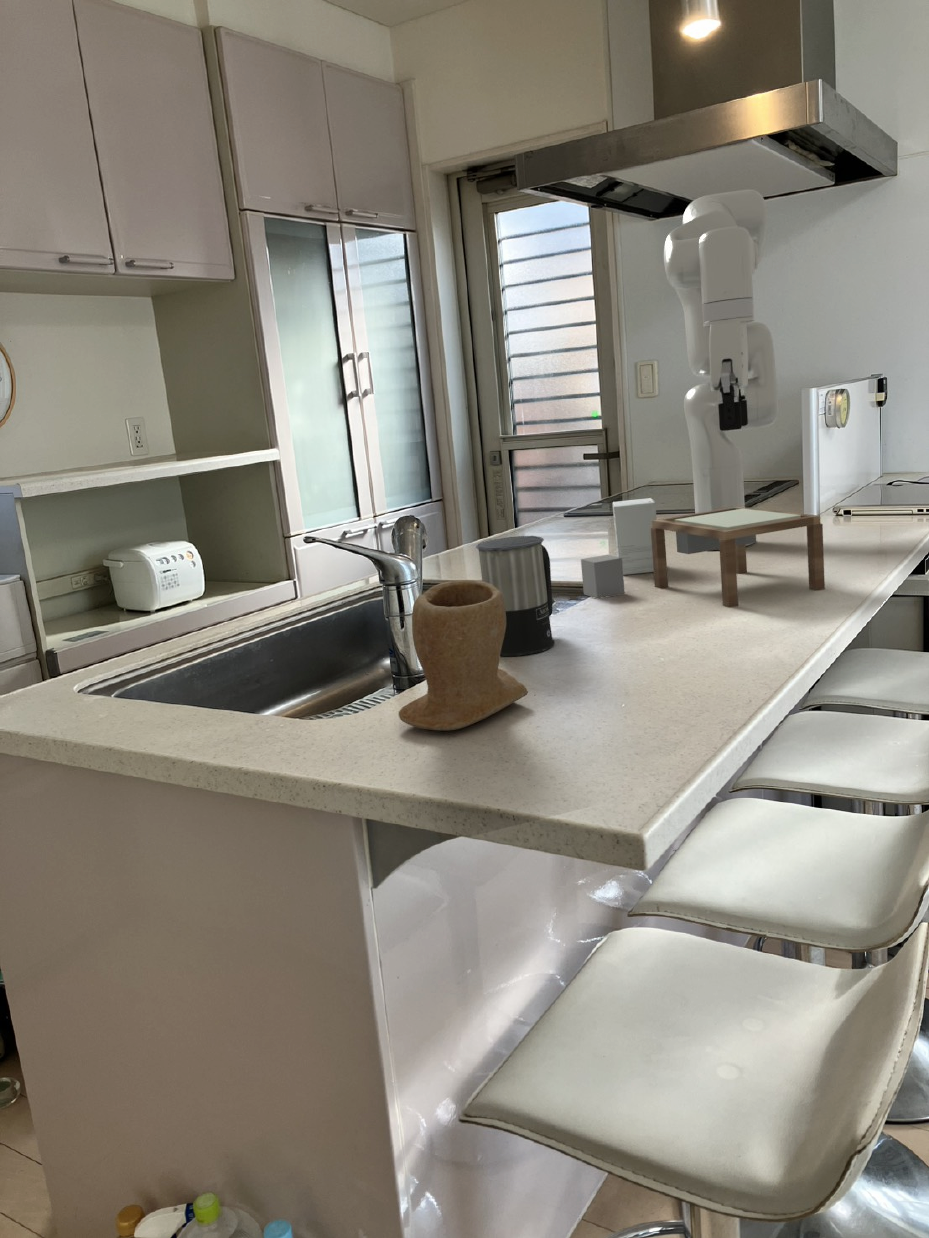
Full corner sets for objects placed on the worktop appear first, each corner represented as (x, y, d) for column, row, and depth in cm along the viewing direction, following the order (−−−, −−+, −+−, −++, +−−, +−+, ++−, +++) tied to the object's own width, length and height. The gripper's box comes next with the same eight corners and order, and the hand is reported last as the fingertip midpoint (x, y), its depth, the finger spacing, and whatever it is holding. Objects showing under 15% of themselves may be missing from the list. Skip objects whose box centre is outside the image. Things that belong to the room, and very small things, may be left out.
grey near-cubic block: (583, 594, 169) (580, 559, 168) (610, 589, 171) (607, 554, 169) (597, 598, 164) (594, 562, 163) (624, 593, 166) (621, 557, 165)
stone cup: (466, 746, 102) (449, 601, 98) (385, 730, 110) (367, 595, 107) (557, 703, 112) (545, 570, 109) (478, 691, 120) (464, 567, 117)
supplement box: (657, 565, 188) (652, 497, 185) (660, 572, 181) (656, 501, 178) (617, 568, 189) (611, 501, 186) (619, 575, 182) (613, 505, 179)
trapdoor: (676, 552, 164) (674, 519, 163) (744, 540, 168) (743, 508, 166) (729, 562, 150) (727, 527, 149) (802, 549, 154) (800, 515, 152)
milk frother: (550, 655, 133) (539, 544, 130) (433, 662, 136) (420, 553, 133) (561, 629, 146) (552, 528, 143) (455, 636, 150) (444, 536, 147)
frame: (654, 586, 169) (650, 520, 166) (741, 570, 173) (738, 506, 171) (728, 607, 148) (724, 532, 146) (824, 588, 153) (822, 515, 151)
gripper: (710, 320, 163) (716, 427, 167) (695, 315, 148) (702, 433, 151) (758, 313, 161) (763, 422, 164) (748, 308, 145) (754, 429, 148)
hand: (734, 428), depth 158 cm, fingers open, 9 cm apart
